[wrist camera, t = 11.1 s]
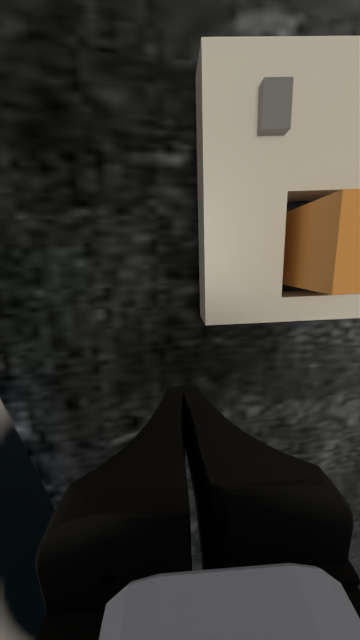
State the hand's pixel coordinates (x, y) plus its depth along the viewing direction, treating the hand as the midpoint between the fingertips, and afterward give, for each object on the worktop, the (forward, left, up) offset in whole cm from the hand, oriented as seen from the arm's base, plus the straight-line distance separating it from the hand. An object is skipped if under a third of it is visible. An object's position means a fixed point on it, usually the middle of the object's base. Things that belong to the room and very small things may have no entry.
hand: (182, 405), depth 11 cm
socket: (+10, -8, -9) cm, 16 cm away
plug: (+7, -10, -9) cm, 15 cm away
